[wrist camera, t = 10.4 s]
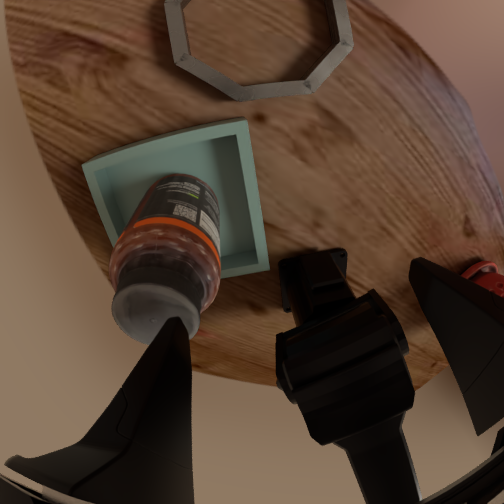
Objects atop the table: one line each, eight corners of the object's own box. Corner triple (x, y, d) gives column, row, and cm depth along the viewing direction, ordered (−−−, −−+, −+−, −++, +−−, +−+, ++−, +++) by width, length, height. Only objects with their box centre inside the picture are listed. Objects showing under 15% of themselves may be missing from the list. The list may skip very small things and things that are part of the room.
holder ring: (350, 92, 17) (359, 92, 16) (187, 111, 17) (184, 112, 16) (326, -39, 10) (333, -46, 9) (162, -27, 10) (158, -34, 9)
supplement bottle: (153, 245, 22) (118, 360, 12) (136, 177, 18) (66, 271, 9) (224, 237, 22) (229, 357, 13) (216, 165, 19) (209, 256, 9)
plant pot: (470, 242, 26) (528, 302, 16) (500, 263, 30) (542, 310, 20) (417, 317, 33) (456, 382, 23) (457, 322, 36) (489, 373, 26)
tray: (265, 252, 24) (269, 269, 22) (141, 275, 24) (135, 292, 22) (243, 116, 17) (246, 120, 15) (95, 155, 17) (81, 165, 15)
